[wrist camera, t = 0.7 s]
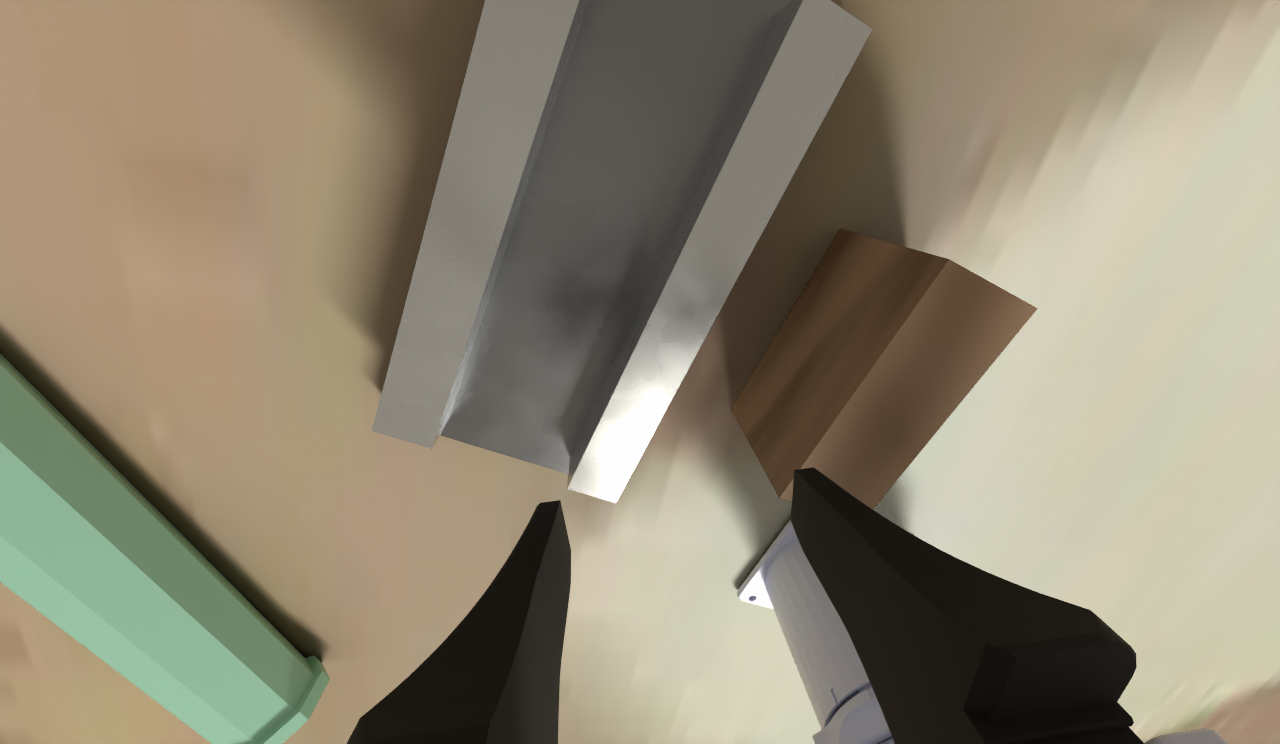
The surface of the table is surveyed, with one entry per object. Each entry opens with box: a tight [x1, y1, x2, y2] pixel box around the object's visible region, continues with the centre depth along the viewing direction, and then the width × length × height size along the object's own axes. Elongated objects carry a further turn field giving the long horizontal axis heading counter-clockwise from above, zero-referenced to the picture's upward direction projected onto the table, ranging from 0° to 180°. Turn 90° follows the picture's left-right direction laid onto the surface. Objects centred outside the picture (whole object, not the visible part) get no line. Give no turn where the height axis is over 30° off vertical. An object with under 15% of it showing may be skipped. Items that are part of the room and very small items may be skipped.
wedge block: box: [731, 229, 1037, 510], centre depth 19 cm, size 4×10×7 cm, turn 155°
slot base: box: [372, 0, 872, 503], centre depth 18 cm, size 12×22×4 cm, turn 155°
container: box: [0, 353, 330, 744], centre depth 22 cm, size 6×6×25 cm
